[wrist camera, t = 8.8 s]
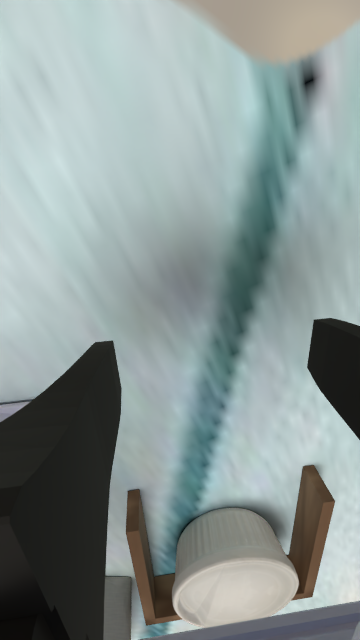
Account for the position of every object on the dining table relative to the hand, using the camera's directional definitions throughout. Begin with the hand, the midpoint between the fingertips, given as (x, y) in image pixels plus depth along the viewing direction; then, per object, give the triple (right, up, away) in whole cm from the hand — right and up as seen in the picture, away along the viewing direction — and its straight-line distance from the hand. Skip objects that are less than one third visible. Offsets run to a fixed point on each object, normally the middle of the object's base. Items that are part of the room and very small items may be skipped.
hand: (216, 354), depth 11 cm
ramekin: (+3, -21, +21) cm, 29 cm away
